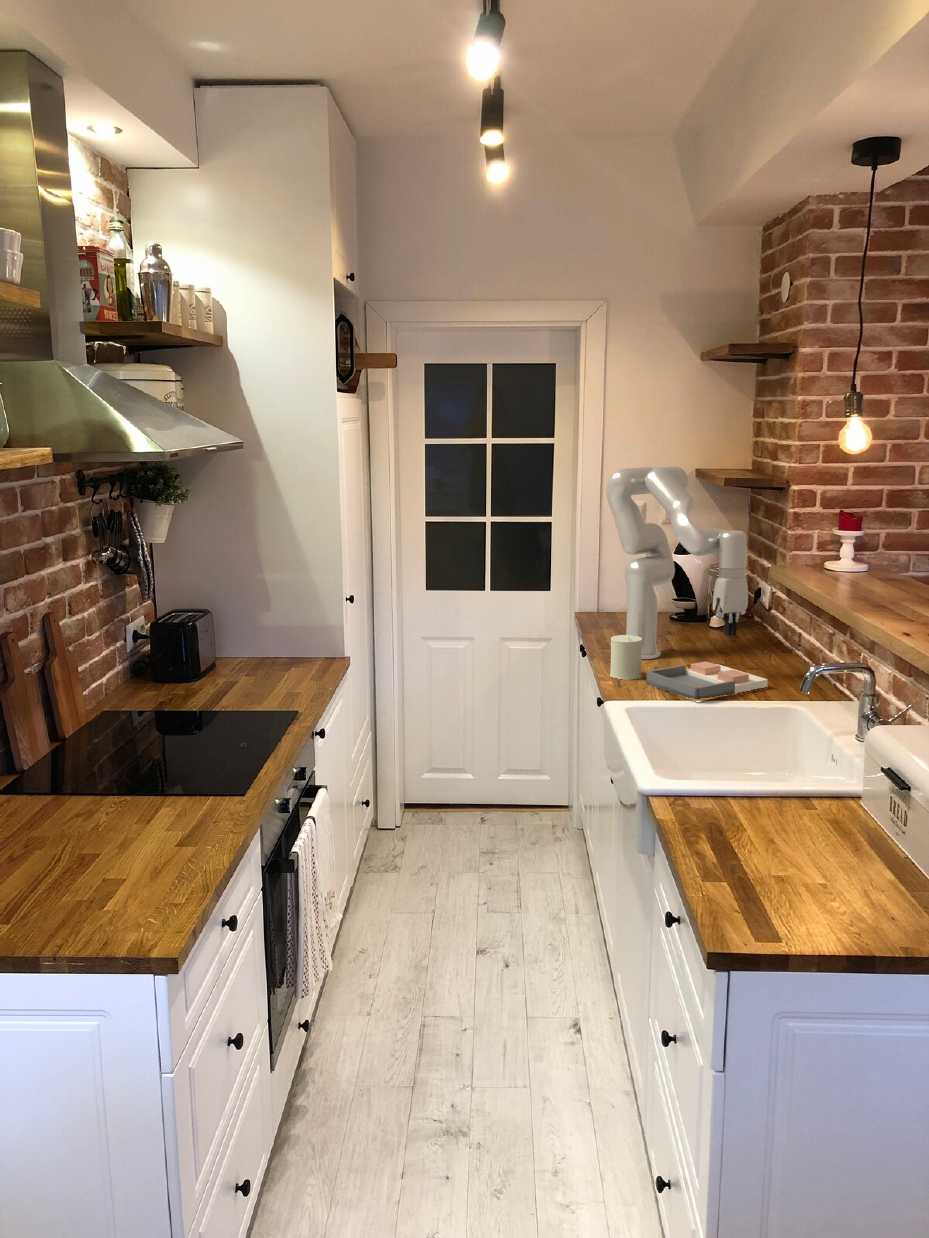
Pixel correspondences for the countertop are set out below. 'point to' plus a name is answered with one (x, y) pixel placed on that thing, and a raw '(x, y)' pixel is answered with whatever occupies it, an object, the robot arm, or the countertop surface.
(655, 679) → the tray
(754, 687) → the plate
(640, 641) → the can
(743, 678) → the tile
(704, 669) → the tile
